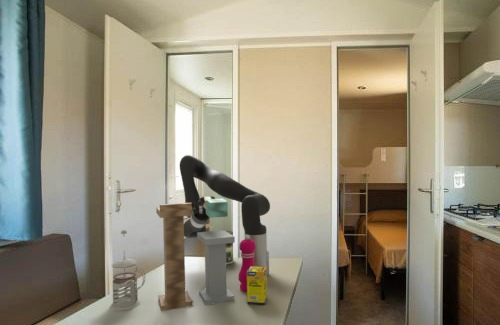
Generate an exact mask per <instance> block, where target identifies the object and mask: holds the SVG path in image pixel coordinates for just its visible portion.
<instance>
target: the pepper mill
mask: <svg viewBox="0 0 500 325" xmlns="http://www.w3.org/2000/svg"><path fill="white" fill-rule="evenodd" d="M249 238H250V237H249V235H246V236H245V235H244V239H242V240H241V241H240V242H239V245H238V248H239V250H240V257H241V259H242V260H241V262H242V263H241V267H240V270H239V272H238V277H237V278H238V281H239V282H240V284H239V290H240V291H241V292H243V293H247V271H248V269H249V268H250V267H251V266H254V263H253V257H254V252H253V251H254V250H255V247H256V246H255V243H254V241H253V240H251V239H249Z"/></svg>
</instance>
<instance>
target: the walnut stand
mask: <svg viewBox="0 0 500 325" xmlns="http://www.w3.org/2000/svg"><path fill="white" fill-rule="evenodd" d="M155 209H156V212H155V213H156V214H157V216H158V217H159V218H160V219H162V220H163V222H162V224H163V226H162V227H163V260H164V261H163V264H164V265H163V266H164V270H163V271H164V294H159V295H158V302H159V303H158V304H159V306H160V310H161V311H169V309H170V310H175V309H180V308H181V309H182V308H187V307H188V308H189V307H193V304H194V301H193V299H192V298H191V295H190V293H189V291H188V290H186V267H185V266H186V265H185V263H186V262H185V236H184V223H185V220H184V219H185V217H187V216H192V203H185V202H182V203H167V204H166V203H165V204H159V206H156V208H155Z"/></svg>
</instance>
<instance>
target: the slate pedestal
mask: <svg viewBox="0 0 500 325" xmlns="http://www.w3.org/2000/svg"><path fill="white" fill-rule="evenodd" d="M226 231H227V230H225V229H223V230H222V229H221V230H212V231H211V230H210V231H206V232H197V237H196V238H197V239H198V240H199V241H200V242H201V243H202V244H203V245H204V266H205V267H204V268H205V269H204V270H205V273H204V274H205V277H204V278H205V289H200V290H199V291H198V294H199V295H198V296H199V297H200V298H201V300H202V302H203V304H204V305H205V306H206V305H207V306H208V305H213V304H219V303H220V304H221V303H226V302H231V301H235V295H234V294H233V293H232V292H231V290H229V288H228V287H227V283H228V282H227V265H226V243H233V244H235V240H236V239H235V236H234V235H231V234H229V233H228V232H226Z"/></svg>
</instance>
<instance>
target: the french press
mask: <svg viewBox="0 0 500 325" xmlns="http://www.w3.org/2000/svg"><path fill="white" fill-rule="evenodd" d="M120 234H121V235H123V236H125V235H126V234H128V232H127V230H125V229H122V230H121V231H120ZM125 254H126V253H125V251H123V258H120V259H119V260H116V261H114V262H113V263H111V267H112V268H113V269H123V272H119V273H116V274H115V275H113V280H112V302H111V304H110V306H109V309H111V310H112V311H126V310H130V309H134V308H136V307H138V306H139V305H141V301H140V300H139V298H138V294H139V293H138V290H140V289H141V288H142V287H143V286H144V284H145V282H146V273H145V271H144V269H142V267H139V266H136V265H137V263H138V261H137V260H135V259H132V258H129V257H128V258H126V257H125V256H126V255H125ZM134 266H136V267H135V268H134V272H133V271H132V272H131V271H129V272H128V271H127V272H126V268H132V267H134ZM137 271H138V272H140V273H141V276H142V283H141V285H140V286H139V287H138V278H137V277H136V276H137V274H136V273H137ZM127 281H128V282H127ZM121 288H122V289H121Z"/></svg>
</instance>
